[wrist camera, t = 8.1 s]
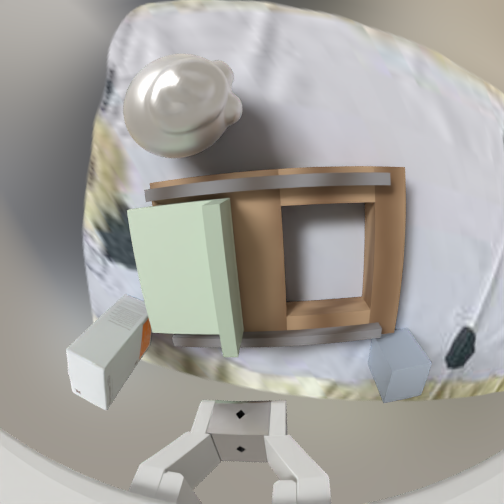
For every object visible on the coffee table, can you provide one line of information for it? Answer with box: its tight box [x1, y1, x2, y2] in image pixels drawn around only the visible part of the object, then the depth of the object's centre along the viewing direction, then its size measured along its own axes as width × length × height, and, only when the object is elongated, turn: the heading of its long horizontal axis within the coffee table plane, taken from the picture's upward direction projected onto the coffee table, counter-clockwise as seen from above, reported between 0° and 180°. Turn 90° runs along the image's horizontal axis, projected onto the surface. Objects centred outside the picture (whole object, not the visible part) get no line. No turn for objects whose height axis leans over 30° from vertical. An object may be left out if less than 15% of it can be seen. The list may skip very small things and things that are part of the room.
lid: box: [127, 198, 244, 357], centre depth 22 cm, size 9×12×4 cm
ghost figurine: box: [123, 54, 242, 158], centre depth 19 cm, size 9×10×10 cm
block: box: [368, 328, 432, 403], centre depth 25 cm, size 4×4×7 cm
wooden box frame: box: [145, 166, 406, 347], centre depth 25 cm, size 22×16×4 cm
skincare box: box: [66, 294, 152, 410], centre depth 25 cm, size 6×4×12 cm
